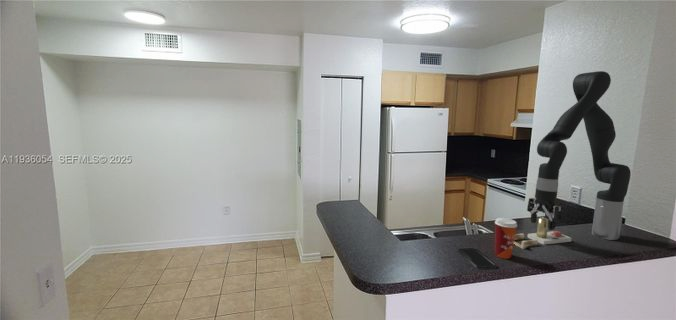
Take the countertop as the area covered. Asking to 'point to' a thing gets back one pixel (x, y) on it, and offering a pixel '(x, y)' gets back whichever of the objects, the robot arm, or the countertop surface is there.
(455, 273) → the countertop surface
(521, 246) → the beige channel block
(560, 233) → the button
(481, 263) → the phone
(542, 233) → the cell
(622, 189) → the robot arm
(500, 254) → the paper cup
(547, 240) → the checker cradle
